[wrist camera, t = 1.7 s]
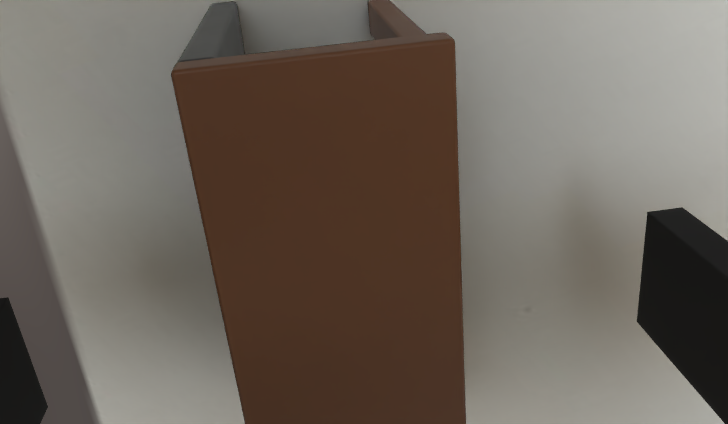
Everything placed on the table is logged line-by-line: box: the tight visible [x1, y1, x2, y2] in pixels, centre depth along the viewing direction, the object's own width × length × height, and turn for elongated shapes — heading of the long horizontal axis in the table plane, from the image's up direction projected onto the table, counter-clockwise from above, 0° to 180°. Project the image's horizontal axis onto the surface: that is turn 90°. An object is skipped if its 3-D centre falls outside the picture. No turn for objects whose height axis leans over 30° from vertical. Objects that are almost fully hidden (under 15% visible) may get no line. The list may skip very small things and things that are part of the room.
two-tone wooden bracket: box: [171, 0, 466, 424], centre depth 15 cm, size 4×11×7 cm, turn 5°
